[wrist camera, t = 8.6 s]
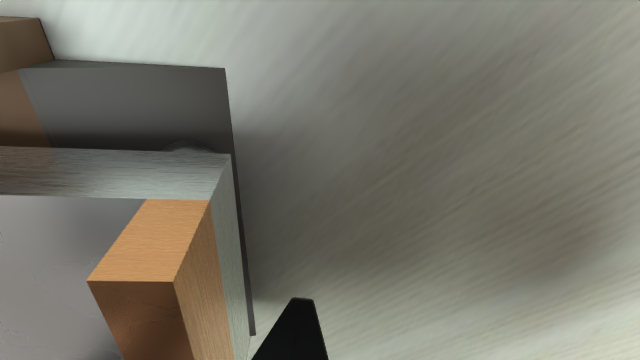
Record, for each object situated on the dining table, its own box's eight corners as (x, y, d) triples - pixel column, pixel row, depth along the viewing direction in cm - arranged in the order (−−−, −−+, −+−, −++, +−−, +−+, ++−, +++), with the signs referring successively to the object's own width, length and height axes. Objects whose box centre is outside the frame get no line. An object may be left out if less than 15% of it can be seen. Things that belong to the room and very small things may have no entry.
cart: (255, 306, 13) (227, 479, 9) (-20, 304, 13) (-208, 488, 8) (241, 130, 9) (173, 281, 5) (-170, 114, 9) (-733, 270, 4)
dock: (261, 329, 16) (236, 436, 12) (-34, 304, 17) (-147, 400, 13) (231, 22, 9) (143, 54, 5) (-299, -4, 9) (-748, 6, 5)
